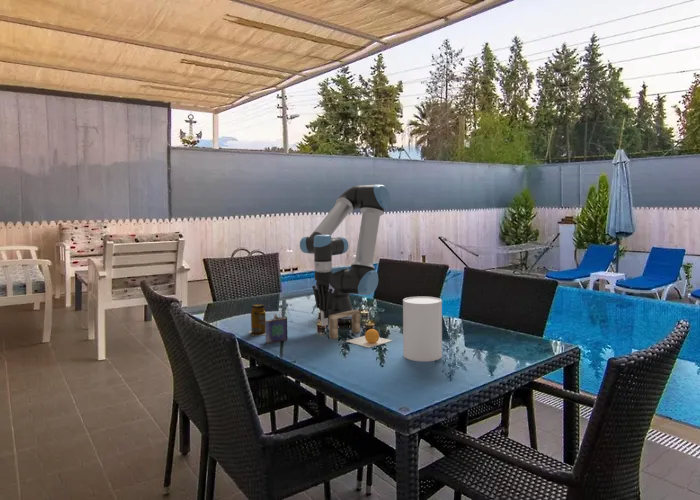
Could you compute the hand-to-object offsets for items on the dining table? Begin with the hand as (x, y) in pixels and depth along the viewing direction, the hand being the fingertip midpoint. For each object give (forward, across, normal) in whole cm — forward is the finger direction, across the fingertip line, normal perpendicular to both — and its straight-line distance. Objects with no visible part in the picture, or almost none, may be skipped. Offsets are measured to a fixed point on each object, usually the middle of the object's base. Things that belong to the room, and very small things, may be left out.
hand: (324, 325), depth 224 cm
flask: (+2, 0, -25) cm, 25 cm away
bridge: (+2, +13, 0) cm, 13 cm away
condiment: (+2, -16, -23) cm, 28 cm away
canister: (+2, +54, 0) cm, 54 cm away
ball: (-1, +30, -1) cm, 30 cm away
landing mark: (+2, +27, 0) cm, 27 cm away
